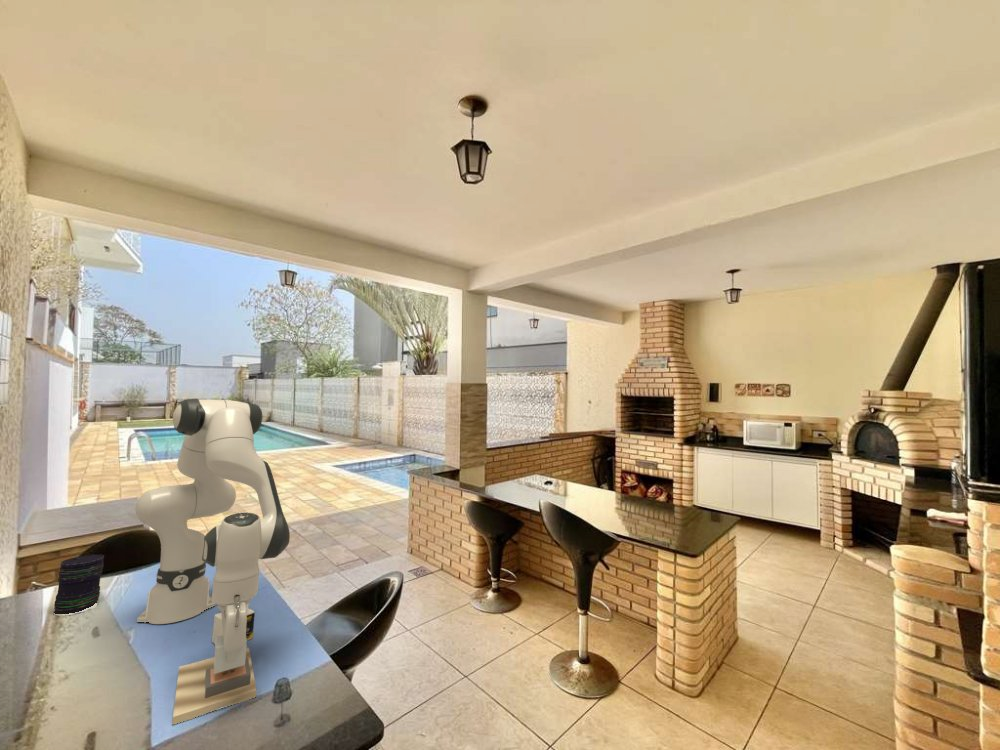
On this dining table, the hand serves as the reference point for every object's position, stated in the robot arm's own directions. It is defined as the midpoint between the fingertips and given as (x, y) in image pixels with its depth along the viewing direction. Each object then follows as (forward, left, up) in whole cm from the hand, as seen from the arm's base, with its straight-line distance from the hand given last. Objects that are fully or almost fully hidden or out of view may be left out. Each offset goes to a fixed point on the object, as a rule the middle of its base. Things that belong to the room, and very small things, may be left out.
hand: (230, 654), depth 89 cm
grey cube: (0, 0, -2) cm, 2 cm away
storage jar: (-73, -37, -7) cm, 82 cm away
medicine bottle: (-23, +2, -7) cm, 24 cm away
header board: (-3, -2, -7) cm, 8 cm away
